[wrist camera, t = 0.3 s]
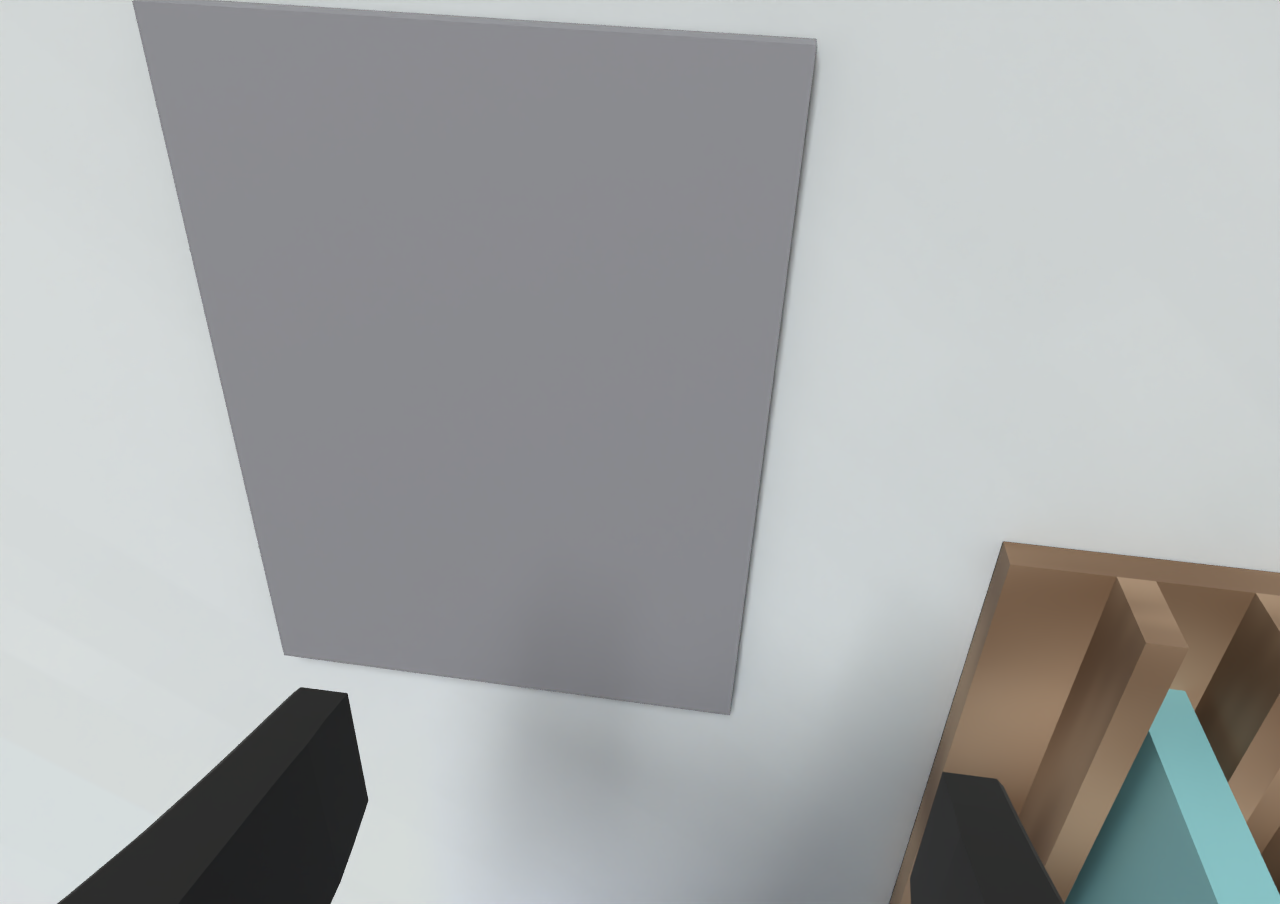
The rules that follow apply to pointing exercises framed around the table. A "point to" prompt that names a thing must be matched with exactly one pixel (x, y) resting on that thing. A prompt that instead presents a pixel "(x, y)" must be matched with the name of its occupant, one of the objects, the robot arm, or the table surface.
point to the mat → (492, 327)
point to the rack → (1110, 691)
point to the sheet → (1174, 827)
